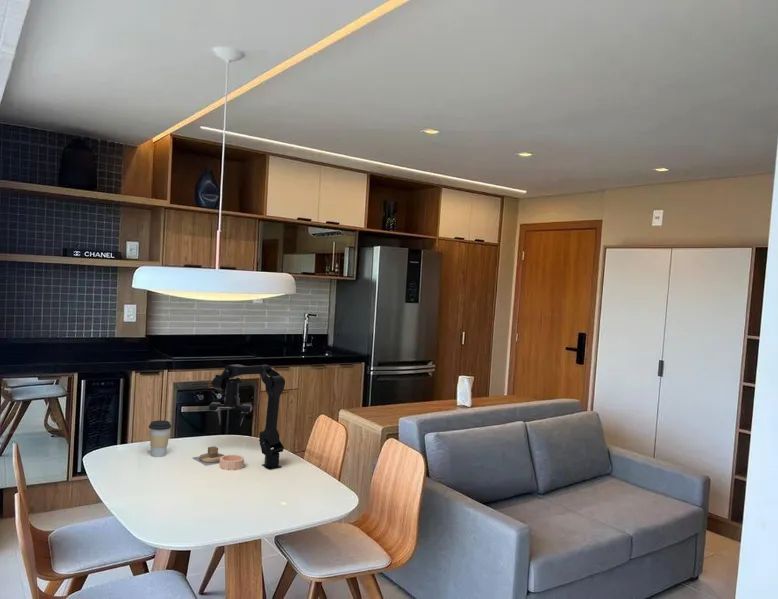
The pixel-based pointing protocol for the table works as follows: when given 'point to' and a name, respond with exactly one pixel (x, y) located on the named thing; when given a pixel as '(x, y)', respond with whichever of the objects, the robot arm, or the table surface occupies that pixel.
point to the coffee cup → (159, 437)
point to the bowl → (231, 462)
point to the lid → (211, 456)
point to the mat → (203, 462)
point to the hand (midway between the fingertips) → (229, 425)
